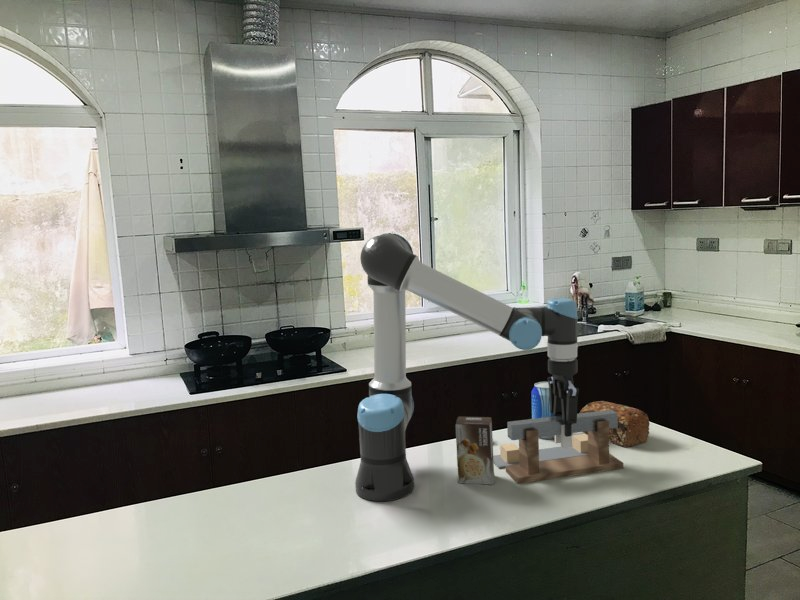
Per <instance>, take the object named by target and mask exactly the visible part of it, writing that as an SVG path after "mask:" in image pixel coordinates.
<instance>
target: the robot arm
mask: <svg viewBox="0 0 800 600" xmlns="http://www.w3.org/2000/svg"><path fill="white" fill-rule="evenodd" d="M359 257H360V264H361V268H362V269H363V271H364V272H365V274H366V275H367V286H368V287H369V288H371V290H372V291H373V351H374V352H373V354H374V355H373V360H374V362H373V363H374V365H373V367H374V368H373V369H374V370H373V371H374V376H373V378H372V379H371V381H370V382H369V383H368V397H365V398H364V399H362V400H361V401H360V402H359V404H358V408H357V422H358V437H359V438H358V440H359V453H360V463H359V467H358V470H357V474H356V477H355V483H354V485H355V486H354V487H355V493H356V495H357V496H359V497H360V498H362V499H365V500H368V501H374V502H389V501H395V500H399V499H403V498H405V497H407V496H409V495H410V494H411V493H413V492H414V489H415V477H414V475H413V473H412V470H411V467H410V465H409V464H410V463H409V462H408V460H407V451H406V450H407V449H406V448H407V446H406V429H407V427H408V425H409V422H410V420H411V418H412V416H413V413H414V410H415V409H414V408H415V402H414V398H413V395H412V381H411V380H409V379H408V378H407V376H406V375H407V371H406V370H407V365H406V364H407V363H406V362H407V360H406V359H407V357H406V356H407V355H406V353H407V351H406V350H407V347H406V345H407V344H406V343H407V342H406V339H407V338H406V337H407V336H406V334H407V333H406V330H407V329H406V328H407V327H406V323H407V322H406V291H408V292H410V293H412V294H415V295H417V296H418V297H421V298H422V299H424V300H427V301H429V302H430V303H432V304H435V305H436V306H439V307H440V308H443V309H445V310H447V311H448V312H451V313H453V314H455V315H457V316H459V317H461V318H463V319H464V320H467V321H469V322H470V323H474V324H475V325H477V326H479V327H482V328H483V329H486V330H487V331H490V332H491V333H493V334H495V335H498V336H500V337H501V338H503V339H505V340H507V341H509V342H510V343H511V345H513V346H514V347H515V348H516V349H519V350H522V351H529V350H532V349H535V348H536V347H537V346H538V345H539V344H540V343H541V341H542V337H547V342H546V343H547V344H546V345H547V357H548V359H547V372H548V373H549V374H550V375H552V376H548V377H547V382H548V384H549V400H550V413H551V414H553V416H562V419H563V422H560V424H561V434H560V435H555V438H554V443H555V444H558V443H559V444H560V447H562V448H568V447H572V435H573V433H572V424H575V423H577V414H578V401H579V400H578V399H579V394H580V388H579V387H575V385H574V378H573V376H574V375H576V374H577V373H578V371H579V370H578V369H579V368H578V359H577V357H578V348H579V345H578V324H579V323H578V321H579V320H578V318H579V317H578V305H577V302H576V301H575V300H574V299H572V298H565V297H560V298H550V299H548V300H547V301H546V302H547V303H546V306H542V307H514V306H513V307H511V306H510V305H508V304H506V303H504V302H502V301H500V300H498V299H495V298H493V297H491V296H489V295H487V294H486V293H483V292H482V291H479V290H477V289H475V288H474V287H471V286H470V285H467V284H465V283H463V282H461V281H459V280H457V279H455V278H452V277H451V276H449V275H448V274H445V273H443V272H441V271H439V270H437V269H435V268H433V267H431V266H429V265H428V264H425V263H423V262H421V261H420V258H419V256H418V255H416V254H414V251H413V248H412V245H411V244H410V242H409V241H408V240H407V239H406V238H405V237H404V236H402V235H400V234H397V233H390V232H388V233H382V234H380V235H376V236H373V237H372V238H369V240H368V241H367V242H365V244H364V245H363V247H362V249H361V252H360V256H359Z"/></svg>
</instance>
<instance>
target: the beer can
mask: <svg viewBox="0 0 800 600" xmlns="http://www.w3.org/2000/svg"><path fill="white" fill-rule="evenodd" d="M530 395H531V419H536V418H545V417H553V414H551V413H550V400H549V384H548V381H539V382H535V383H534V386H533V388H532V390H531V394H530ZM539 439H543V440H544V439H545V440H551V439H555V435H552V436H544V437H539Z"/></svg>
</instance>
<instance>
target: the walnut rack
mask: <svg viewBox="0 0 800 600" xmlns="http://www.w3.org/2000/svg"><path fill="white" fill-rule="evenodd" d="M587 436H588V455H584V456H576V457H569V458H562V459H555V460H548V461H540V462H539V448H540V447H539V446H540V445H539V444H540V443H539V439H540V438H539V437H538V430H537V429H534V430H526V439H520V440H518V448H519V465H512V466H506V468H505V473H506V474H508V476H510V478H511V479H513V482H514V481H515V483H517V484H524V483H532V482H538V481H545V480H551V479H552V480H553V479H558V478H567V477H572V476H579V475H585V474H586V475H587V474H592V473H593V474H594V473H599V472H607V471H615V470H620V469H624V462H623V461H621V460H620V459H619V458H617V457H615V456H614V455H613V454H611V453H610V442H609V421H608V420H604V421H597V430H593V431H588V434H587Z"/></svg>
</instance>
